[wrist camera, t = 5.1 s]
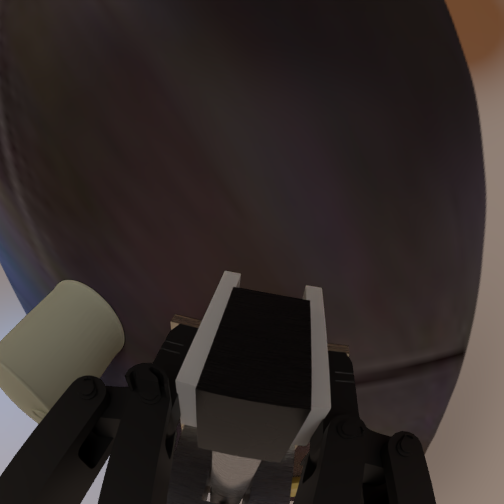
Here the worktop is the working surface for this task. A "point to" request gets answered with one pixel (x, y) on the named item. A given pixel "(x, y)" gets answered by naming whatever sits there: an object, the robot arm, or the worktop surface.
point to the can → (58, 347)
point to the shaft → (253, 387)
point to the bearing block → (200, 462)
